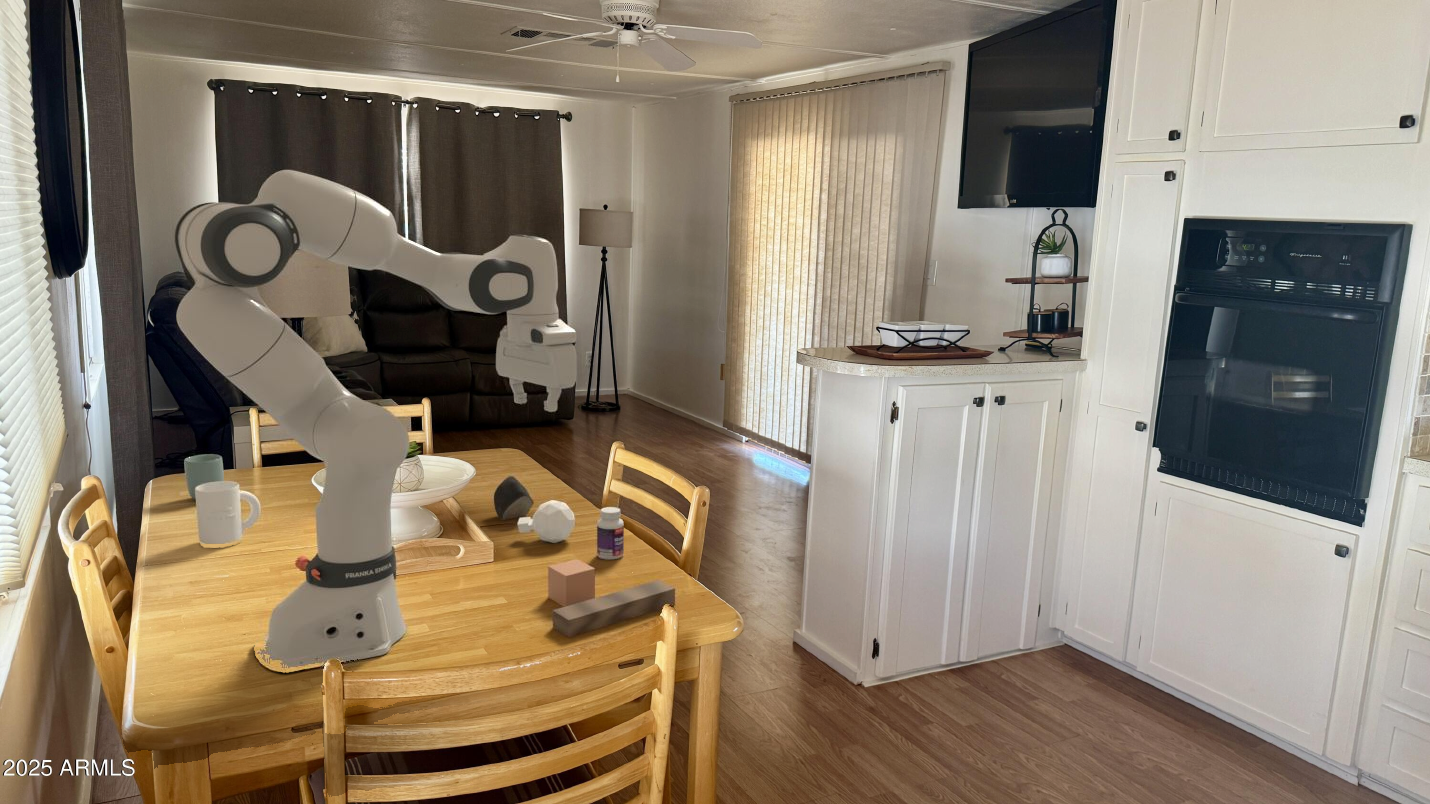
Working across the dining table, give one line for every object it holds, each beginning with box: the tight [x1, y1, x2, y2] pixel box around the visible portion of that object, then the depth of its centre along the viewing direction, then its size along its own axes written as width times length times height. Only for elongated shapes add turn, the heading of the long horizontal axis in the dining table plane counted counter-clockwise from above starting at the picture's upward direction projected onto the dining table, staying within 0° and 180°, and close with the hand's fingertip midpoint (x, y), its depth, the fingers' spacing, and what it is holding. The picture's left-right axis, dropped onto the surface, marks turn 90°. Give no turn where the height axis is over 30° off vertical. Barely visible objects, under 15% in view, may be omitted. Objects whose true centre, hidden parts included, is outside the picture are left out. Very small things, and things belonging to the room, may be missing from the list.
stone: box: [493, 475, 535, 521], centre depth 212 cm, size 8×8×10 cm
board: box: [552, 579, 676, 638], centre depth 160 cm, size 22×5×3 cm, turn 131°
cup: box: [183, 453, 225, 500], centre depth 221 cm, size 8×8×10 cm
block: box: [547, 558, 596, 607], centre depth 167 cm, size 6×6×6 cm
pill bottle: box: [596, 506, 625, 561], centre depth 189 cm, size 5×5×10 cm
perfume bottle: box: [517, 499, 576, 544], centre depth 197 cm, size 9×9×12 cm
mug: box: [195, 480, 261, 544], centre depth 193 cm, size 8×12×12 cm
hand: (535, 406), depth 165 cm, fingers open, 8 cm apart
